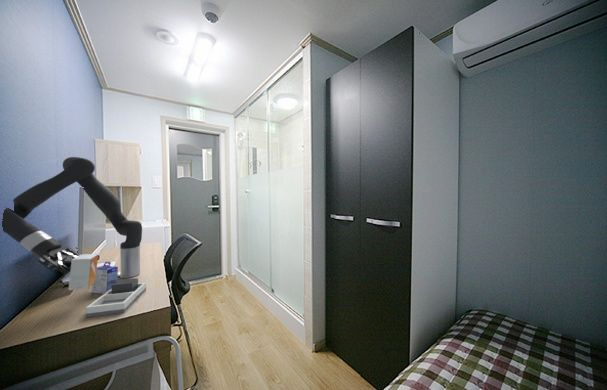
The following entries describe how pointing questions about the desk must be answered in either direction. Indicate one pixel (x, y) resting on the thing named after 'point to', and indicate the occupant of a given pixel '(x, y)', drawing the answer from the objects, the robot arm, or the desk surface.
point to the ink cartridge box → (105, 278)
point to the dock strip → (117, 298)
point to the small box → (83, 271)
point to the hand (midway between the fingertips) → (76, 268)
